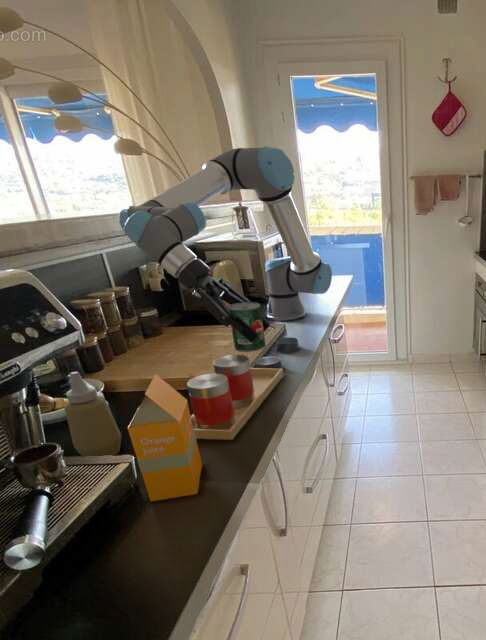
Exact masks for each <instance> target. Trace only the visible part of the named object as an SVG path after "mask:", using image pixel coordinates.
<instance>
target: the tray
mask: <svg viewBox="0 0 486 640" xmlns="http://www.w3.org/2000/svg"><path fill="white" fill-rule="evenodd" d="M250 368H251V374H252V381H253V387H254V394H255V400H254V401H253V402H252V403H251V405H250V406H248V407H245V408H241V409H234V415H235V420H236V422H235V424H234V425H233V426H232V427H231V428H230V429H229V430H216V429H198V428H197V424H196V421H195V417H194V413H193V414H192V415H190V416H191V420H192V424H193V428H194V432H195V436H196V439H197V440H199V439H200V440H201V439H203V440H228V441H229V440H230V441H232V440H234V438H235V437H236V436H237V434H238V433H239V432H240V431H241V429H243V427H244V426H245V425H246V424H247V422H248V421H249V420H250V419H251V417H252V416H253V414H254V413H255V412H256V411H257V410H258V408H259V407H260V406H261V404H262V403H263V402H264V401H265V400H266V398H267V397H268V396H269V395H270V394H271V392H272V391H273V389H274V388H275V387H276V386H277V385H278V384H279V382H280V381H281V379H283V377H284V376H285V375H284V369H283V368H282V369H271V368H257V367H250Z"/></svg>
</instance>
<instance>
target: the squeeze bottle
mask: <svg viewBox="0 0 486 640" xmlns="http://www.w3.org/2000/svg"><path fill="white" fill-rule="evenodd" d="M70 386H71V389H69V390H68V391H67V392H66V393H65V396H66V399H67V401H68V402H67V403H66V404H65V406H64V411H65V415H66V420H67V424H68V428H69V432H70V436H71V441H72V445H73V447H74V449H75V450H76V451H77V453H78V454H80V455H81V457H83V456H103V455H115V456H116V455H118V453H120V450H121V443H122V442H121V441H122V432H121V430H120V428H119V426H118V424H117V422H116V419H115V417H114V415H113V414H112V411H110V410H111V408H110V409H109V407H110V406H109V407H108V405H107V403H106V401H107V400H106V399H105V396H104V397H101V396H98V395H97V392H98V391H97V390H96V389H97V388H96V387H95V386H93V385H87V383H86V382H85V380H84V379H83V377H82V376H81V374H80V373H79V371H72V372H70ZM105 400H106V401H105Z"/></svg>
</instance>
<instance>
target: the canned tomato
mask: <svg viewBox="0 0 486 640" xmlns="http://www.w3.org/2000/svg"><path fill="white" fill-rule="evenodd" d="M227 307H228V308H229V309H230V311H231V312H232V313H233V315H234V316H235V318H236V317H237V316H238V317H239V318H240V319H241V320H243V321H244V322H245V323H246V324H247V325H248V326H249V327H251V328H252V329H253V330H254V331H255V332H256V333H257V334H258V336H257V337H256V338H255V340H254V341H253V342H252V343H251V342H250V341H249V340H247V339H246V338H245V337H244V336H243V335H242V334H241V333H239V332H238V331H237V330H236V329H235V328H234V327H232V326H231V325H230V329H231V336H232V340H233V347H234V350H235V351H236V352H242V353H252V352H257V351H261V350H263V349H264V348H266V347H267V343H266V337H265V332H264V329H263V323H262V318H263V317H262V310H261V304H260V303H258V302H253V301H250V302H242V303H235V304H231V305H230V304H228V305H227Z"/></svg>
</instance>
